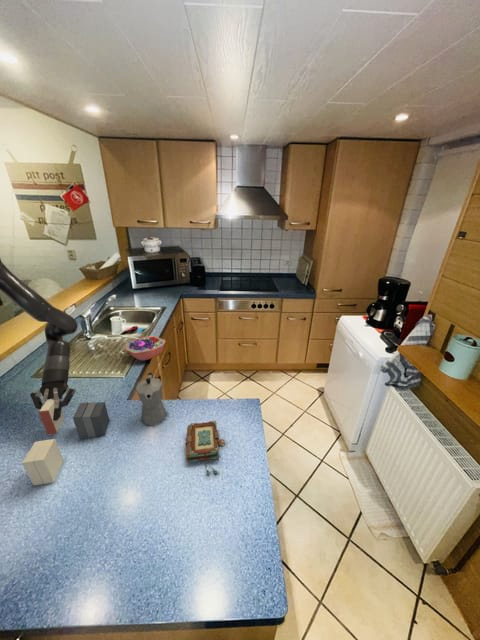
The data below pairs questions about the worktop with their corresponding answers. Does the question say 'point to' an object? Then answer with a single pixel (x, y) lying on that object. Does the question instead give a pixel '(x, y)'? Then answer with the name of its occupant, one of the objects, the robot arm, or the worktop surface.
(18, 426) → the worktop surface
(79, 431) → the dark grey striped block
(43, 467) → the cream box
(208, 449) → the decorative book
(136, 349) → the cell model
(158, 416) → the coffeepot
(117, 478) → the worktop surface
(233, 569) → the worktop surface
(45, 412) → the cream red flat block
